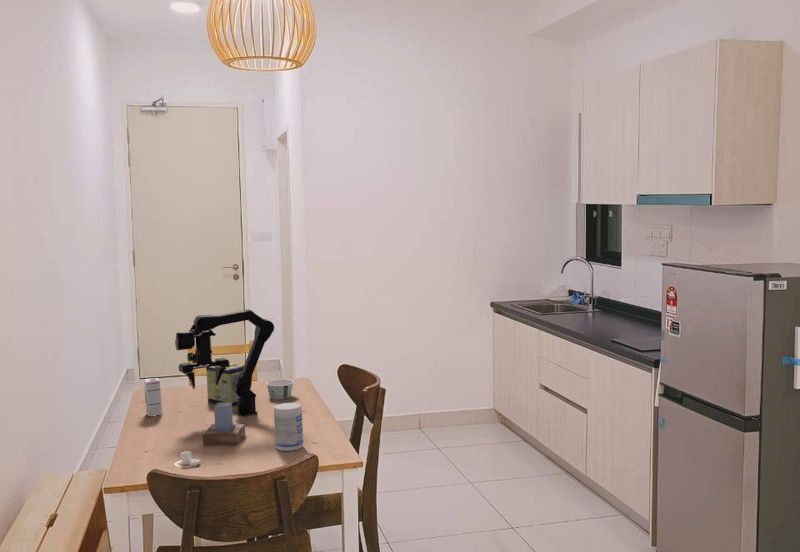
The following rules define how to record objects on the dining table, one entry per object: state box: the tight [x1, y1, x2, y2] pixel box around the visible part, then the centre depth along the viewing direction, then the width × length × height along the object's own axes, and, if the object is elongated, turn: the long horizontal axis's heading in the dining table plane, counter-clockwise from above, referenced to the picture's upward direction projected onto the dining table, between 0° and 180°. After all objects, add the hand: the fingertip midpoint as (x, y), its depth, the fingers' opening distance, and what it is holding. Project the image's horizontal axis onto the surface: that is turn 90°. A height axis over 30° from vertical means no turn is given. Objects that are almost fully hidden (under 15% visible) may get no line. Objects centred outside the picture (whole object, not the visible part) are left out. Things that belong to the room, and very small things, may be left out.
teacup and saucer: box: [174, 450, 201, 468], centre depth 246 cm, size 9×8×4 cm
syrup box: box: [143, 377, 163, 417], centre depth 305 cm, size 6×6×14 cm
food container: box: [265, 378, 294, 400], centre depth 330 cm, size 12×12×6 cm
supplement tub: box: [273, 402, 304, 452], centre depth 260 cm, size 10×10×15 cm
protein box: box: [205, 362, 245, 407], centre depth 324 cm, size 10×16×16 cm
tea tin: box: [213, 403, 236, 432], centre depth 270 cm, size 6×6×9 cm
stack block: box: [202, 423, 246, 446], centre depth 270 cm, size 12×12×4 cm
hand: (205, 386), depth 297 cm, fingers open, 9 cm apart
